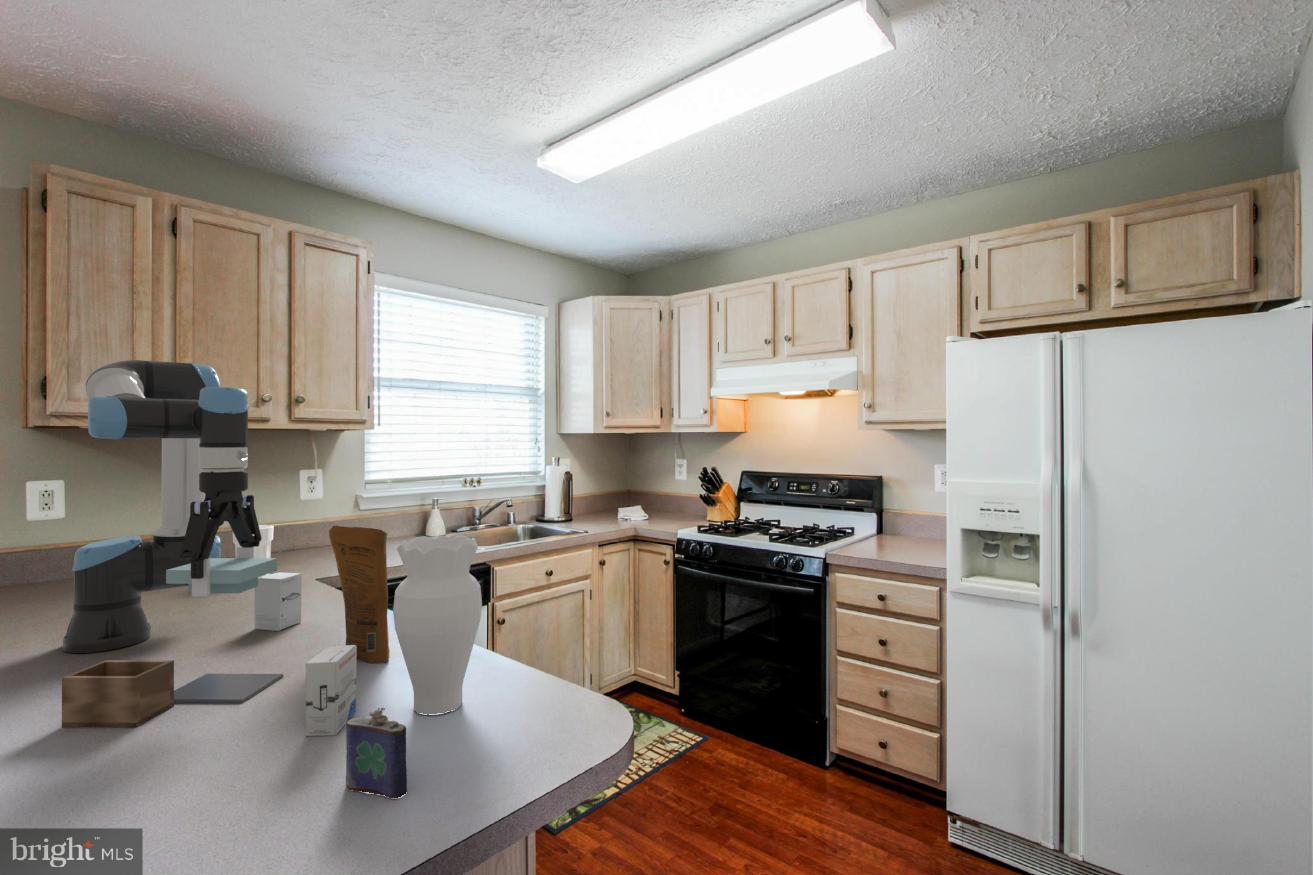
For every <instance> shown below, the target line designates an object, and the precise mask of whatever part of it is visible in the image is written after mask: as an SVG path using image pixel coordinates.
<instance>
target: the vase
mask: <svg viewBox="0 0 1313 875" xmlns="http://www.w3.org/2000/svg"><path fill="white" fill-rule="evenodd" d="M478 548H479V547H478V543H477V539H475V538H474V537H472V538H470V537H468V536H467V535H463V534H458V535H456V536H454V537H453V538H450V537H448V536H445V535H444V534H442V535H439V536H438V537H436V538H433V539H432V538H429V537H428V536H425V535H423V536H416V537H414V538H413V539H411V540H410V541H407V540H406V539H404V540H403V541H402V542H401V543H400V544H399V546H398V547H397V548H396V551H397V553H398V555H399V557H400V559H401V560H400V561H402V565H403V566H404V570H405V571H406V575H407V576H406V578H405V579H403V581H401V582H400V583H399V585H398V586H397V587H396V589H395V592H394V599H393V610H392V611H393V612H392V613H393V621H394V622H393V623H394V629H395V630H394V631H395V634H396V636H397V640H398V643H399V646H400V650H401V653H402V656H403V659H404V660H403V661H404V662H405V663H404V664H405V666H406V670H407V671H408V672H407V673H408V675H409V679H410V682H411V685H412V690H413V710H415V711H416V712H418V713H423V714H427V715H429V714H437V713H445V712H447V711H451V710H454V709H456V708H458V707H459V706H460V705H461V703H462V704H463V684H464V679H465V676H466V673H467V668H468V666H469V662H470V658H471V655H472V651H473V647H474V644H475V641H476V637H477V633H478V631H479V626H480V623H481V618H482V608H483V600H482V589H481V584H480V582H479V581H478V580H477V578H476V577H475V576H473V575H472V574H471V573H470V568H471V565H472V562H473V560H474V559H475V558H474V557H475V555H476V552H477V550H478ZM461 706H462V705H461ZM461 706H460V707H461ZM460 707H459V708H460ZM459 708H458V709H459ZM456 710H457V709H456ZM415 711H414V712H415ZM454 711H455V710H454ZM416 712H415V713H416ZM418 713H417V714H418Z"/></svg>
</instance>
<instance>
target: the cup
mask: <svg viewBox="0 0 1313 875" xmlns="http://www.w3.org/2000/svg"><path fill="white" fill-rule="evenodd" d="M258 525H259V529H260V534H261V541H260V544H259V546H258V547H253V558H272V557H271V555H272V554H271V552H272V551H271V550H272V541H273V540H274V530H275V527H274V525H271V524H258ZM252 535H253V536H254V534H252ZM232 543H233V544H234V547H235V548H234V551H235V555H234V556H235V558H237V548H239V547H241V546H240V545H239V543H238V541H237V539H236V537H235V535H234V533H233V532H232ZM270 574H271V573H269V574H266V575H270ZM266 575H263V576H266ZM260 577H262V576H260Z"/></svg>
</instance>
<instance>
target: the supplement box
mask: <svg viewBox="0 0 1313 875" xmlns="http://www.w3.org/2000/svg"><path fill="white" fill-rule="evenodd" d="M301 623H302V573H301V572H298V573H297V572H275V573H274V572H273V573H272V574H271V573H270V575H266V576H262V577H258V586H257V587H255V588H254V630H262V631H272V632H273V631H276V632H279V631H282V630H283V629H286V628H289V627H292V626H294V625H298V624H301Z"/></svg>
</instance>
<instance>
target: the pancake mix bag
mask: <svg viewBox="0 0 1313 875" xmlns="http://www.w3.org/2000/svg"><path fill="white" fill-rule="evenodd" d="M328 536H329V539H330V544H331V548H332V550H333V553H334V554H333V555H334V558H335V562H336V563H335V564H336V568H337V572H338V576H339V582H340V586H341V591H342V597H343V604H344V619H345V635H346V636H345V645H355V646H356V647H357V651H356V659H358V660H361V661H363V662H365V663H368V664H383V663H389V662H390V660H389V659H390V646H389V641H390V638H389V636H390V635H389V626H388V605H389V603H388V602H389V589H388V570H387V568H388V566H387V558H388V557H387V554H388V553H387V537H388V532H386V531H384V530H382V529H378V528H373V527H362V526H361V527H359V526H352V527H351V526H349V527H348V526H341V525H332V526H331V528H330V529H329V530H328Z"/></svg>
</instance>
